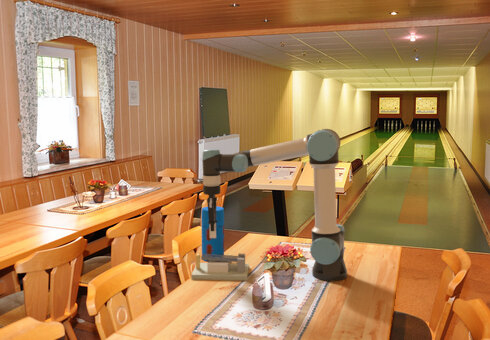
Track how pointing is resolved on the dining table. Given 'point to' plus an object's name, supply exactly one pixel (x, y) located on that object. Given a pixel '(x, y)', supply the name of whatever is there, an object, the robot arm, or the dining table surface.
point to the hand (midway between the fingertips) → (212, 237)
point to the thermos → (216, 243)
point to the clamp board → (220, 275)
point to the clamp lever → (220, 257)
